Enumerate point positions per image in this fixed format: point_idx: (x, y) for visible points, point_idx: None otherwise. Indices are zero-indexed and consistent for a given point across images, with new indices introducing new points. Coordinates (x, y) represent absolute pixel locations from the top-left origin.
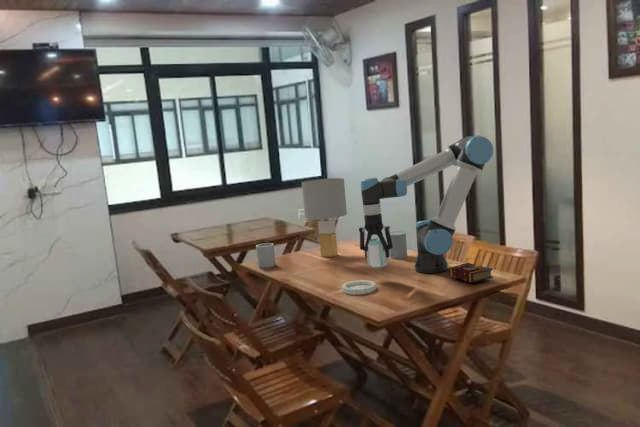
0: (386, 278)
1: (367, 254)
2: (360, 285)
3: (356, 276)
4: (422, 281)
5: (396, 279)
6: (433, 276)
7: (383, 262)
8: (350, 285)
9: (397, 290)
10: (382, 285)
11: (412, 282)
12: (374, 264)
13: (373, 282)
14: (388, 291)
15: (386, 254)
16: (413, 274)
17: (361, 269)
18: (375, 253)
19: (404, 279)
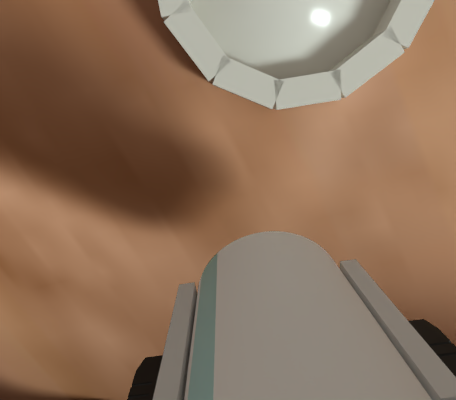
0: None
1: (420, 349)
2: (312, 41)
3: (432, 269)
4: (11, 272)
5: (169, 271)
6: (22, 356)
7: (197, 297)
8: (391, 1)
9: (14, 51)
10: (180, 136)
11: (48, 242)
12: (272, 241)
13: (207, 64)
14: (55, 4)
15: (151, 392)
16: (136, 363)
17: None
18: (266, 340)
19: (126, 281)
